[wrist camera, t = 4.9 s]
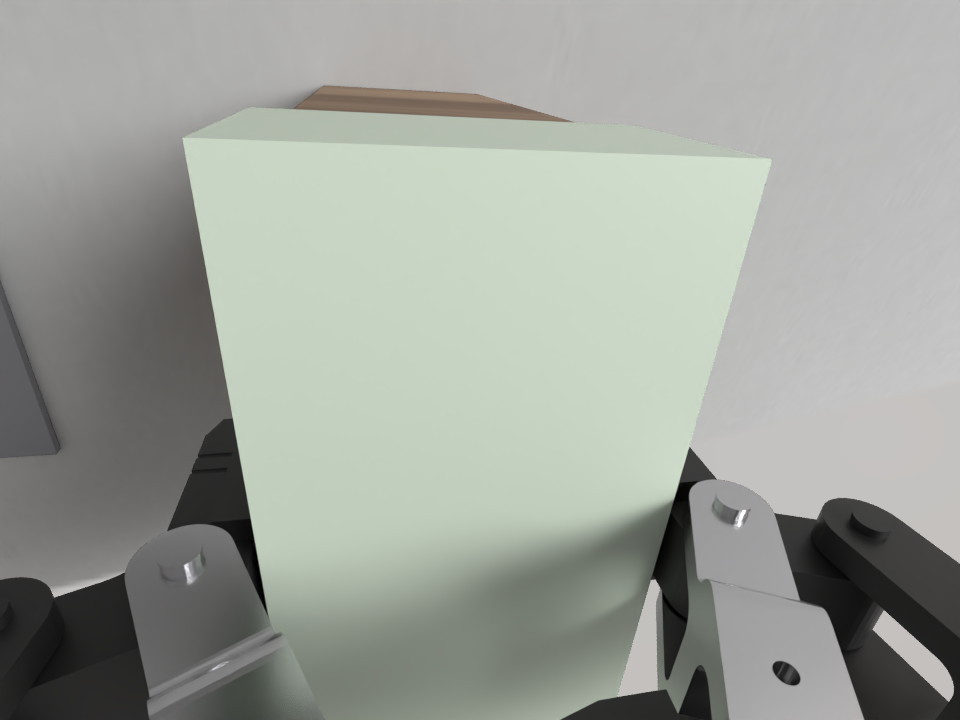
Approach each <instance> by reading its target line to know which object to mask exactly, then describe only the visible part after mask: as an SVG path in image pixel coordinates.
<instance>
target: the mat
mask: <svg viewBox="0 0 960 720" xmlns="http://www.w3.org/2000/svg"><path fill="white" fill-rule="evenodd" d="M59 451H60V446H59V444H58V441H57V438H56V435H55V433H54V430H53V427H52V424H51V421H50V419H49V416H48V413H47V410H46V407H45V405H44V402H43V399H42V396H41V394H40V391H39V388H38V385H37V382H36V380H35V377H34V374H33V371H32V369H31V366H30V363H29V360H28V357H27V355H26V352H25V349H24V346H23V343H22V341H21V338H20V335H19V332H18V330H17V327H16V324H15V321H14V318H13V316H12V313H11V310H10V307H9V304H8V302H7V299H6V296H5V293H4V291H3V288H2V285H1V282H0V458H3V457H19V456H35V455H51V454H57V453H58V452H59Z"/></svg>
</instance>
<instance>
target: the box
mask: <svg viewBox="0 0 960 720" xmlns="http://www.w3.org/2000/svg"><path fill="white" fill-rule="evenodd" d="M294 109H300V110H321V111H342V112H364V113H385V114H406V115H428V116H449V117H470V118H492V119H513V120H534V121H555V122H572V121H568V120H565V119H561V118H558V117H554V116H551V115H548V114H544V113H541V112H537V111H534V110H530V109H527V108H523V107H520V106H516V105H513V104H509V103H506V102H502V101H499V100H495V99H492V98H488V97H485V96H481V95H478V94H465V93H448V92H430V91H412V90H395V89H377V88H360V87H342V86H323V87H322V88H320V89H319V90H318V91H316V92H315V93H314V94H312V95H311V96H310V97H308V98H307V99H306V100H304V101H303V102H302V103H300V104H299V105H298V106H296V107H295V108H294Z"/></svg>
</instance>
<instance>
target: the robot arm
mask: <svg viewBox="0 0 960 720" xmlns="http://www.w3.org/2000/svg"><path fill="white" fill-rule="evenodd" d="M654 579H656V581H657V583H658V584H659V586H660V592H659V595H658V598H657V602H656V621H657V667H658V668H657V671H658V691H653V692H646V693H640V694H634V695H628V696H622V697H616V698H609V699H603V700H598V701H596V702H594V703H592V704H590V705H588V706H586V707H584V708H582V709H580V710H578V711H576V712H574V713H572V714H570V715H568V716H566V717H564V718H562V719H560V720H960V564H959V563H958V562H957V561H955V560H954V559H952V558H951V557H950V556H948V555H947V554H946V553H944V552H943V551H942V550H940V549H939V548H937V547H936V546H935V545H933V544H932V543H931V542H929V541H928V540H927V539H925V538H924V537H923V536H921V535H920V534H918V533H917V532H916V531H914V530H913V529H912V528H910V527H909V526H908V525H906V524H905V523H904V522H902V521H901V520H899V519H898V518H896V517H895V516H894V515H892V514H890V513H889V512H887V511H885V510H883V509H881V508H879V507H877V506H874V505H872V504H869V503H867V502H863V501H860V500H855V499H848V498H837V499H832V500H829V501H828V502H826V503H825V504H824V506H823V507H822V510H821V512H820V514H819V516H818V518H817V520H814V519H808V518H802V517H795V516H789V515H782V514H776V513H774V512H773V510H772V508H771V507H770V505H768V503H767V502H766V501H765V500H764V499H763V498H762V497H761V496H759V495H758V494H756V493H755V492H753V491H752V490H750V489H748V488H746V487H744V486H741V485H739V484H736V483H733V482H729V481H725V480H717V479H716V478H715V476H714V475H713V474H712V473H711V472H710V471H709V469H708V468H707V467H706V466H705V465H704V464H703V462H702V461H701V460H700V459H699V458H698V456H696V454H695V453H694V452H693V451H692V449H691V448H690V447H689V449H688V453H687V456H686V460H685V463H684V467H683V470H682V474H681V477H680V481H679V484H678V487H677V491H676V494H675V498H674V501H673V505H672V508H671V512H670V515H669V519H668V522H667V526H666V529H665V532H664V536H663V539H662V543H661V546H660V550H659V553H658V557H657V560H656V564H655V567H654V571H653V574H652V577H651V580H654ZM884 610H885V611H886V612H887V613H888V614H889V615H890V616H891V617H892V618H894V619H895V620H896V621H897V622H898V623H899V624H900V625H901V626H903V627H904V628H905V629H906V630H907V631H908V632H909V633H910V634H912V636H914V637H915V638H916V639H917V640H918V641H919V642H920V643H921V644H922V645H924V646H925V647H926V648H927V649H928V650H929V651H930V652H931V653H932V654H934V655H935V656H936V657H937V658H938V659H939V660H940V661H941V662H942V663H943V665H944V666H945V667H946V669H947V670H948V672H949V674H950V676H951V678H952V680H953V684H954V694H953V697H952V698H951V700H950V701H949V702H948V701H947V700H946V699H945V698H944V697H942V695H941V694H940V693H938V692H937V691H936V690H935V689H934V688H933V687H932V686H931V685H930V684H929V683H928V682H927V681H926V680H925V679H924V678H923V677H921V676H920V674H918V673H917V672H916V671H915V670H914V669H913V668H912V667H911V666H910V665H909V664H908V663H907V662H906V661H905V660H904V659H903V658H902V657H900V655H898V654H897V653H896V652H895V651H894V650H893V649H892V648H891V647H890V646H889V645H888V644H887V643H886V642H885V641H884V640H883V639H882V638H881V637H879V636H878V635H877V634H876V633H875V632H874V631H873V630H872V629H873V627H874V626H875V624H876V622H877V621H878V619H879V617H880V615H881V614H882V612H883V611H884ZM0 720H325V719H324V717H323V715H322V713H321V711H320V708H319V706H318V704H317V702H316V700H315V698H314V695H313V693H312V691H311V689H310V687H309V685H308V683H307V680H306V678H305V676H304V674H303V672H302V670H301V668H300V665H299V663H298V661H297V659H296V657H295V655H294V653H293V650H292V648H291V646H290V644H289V642H288V640H287V639H286V637H285V636H284V634H283V633H282V632H279V633H277V634H276V633H275V631H274V629H273V627H272V625H271V623H270V620H269V617H268V611H267V606H266V600H265V594H264V589H263V583H262V578H261V572H260V567H259V561H258V556H257V550H256V544H255V539H254V533H253V528H252V522H251V517H250V511H249V506H248V500H247V494H246V489H245V483H244V478H243V472H242V467H241V461H240V456H239V450H238V444H237V439H236V433H235V428H234V422H233V419H224V420H223V421H222V422H221V423H219V424H218V425H217V426H216V427H215V428H214V429H213V430H212V431H211V432H210V433H209V434H207V435H206V436H205V439H204V441H203V444H202V446H201V449H200V451H199V454H198V458H197V459H196V461H195V464H194V466H193V469H192V474H190V476H189V478H188V481H187V483H186V486H185V488H184V491H183V493H182V496H181V498H180V501H179V503H178V506H177V508H176V510H175V513H174V515H173V518H172V520H171V523H170V525H169V528H168V530H167V532H165V533H162V534H161V535H159V536H157V537H155V538H153V539H152V540H150V541H149V542H148V543H146V544H145V545H144V546H143V547H141V548H140V549H139V550H138V551H137V552H136V554H135V555H134V556H133V557H132V559H131V560H130V562H129V563H128V566H127V568H126V571H125V573H123V574H121V575H119V576H116V577H114V578H112V579H109V580H106V581H104V582H101V583H98V584H95V585H92V586H89V587H85V588H83V589H80V590H77V591H73V592H70V593H67V594H64V595H61V596H58V597H55V598H54V597H53V594H52V592H51V590H50V588H49V587H48V586H47V585H46V584H45V583H43V582H41V581H40V580H37V579H33V578H23V577H20V578H9V579H3V580H0Z"/></svg>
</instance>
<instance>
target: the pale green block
mask: <svg viewBox="0 0 960 720" xmlns="http://www.w3.org/2000/svg"><path fill="white" fill-rule="evenodd" d="M182 139H183V144H184V150H185V155H186V161H187V166H188V172H189V178H190V183H191V189H192V194H193V200H194V205H195V211H196V217H197V222H198V228H199V233H200V239H201V244H202V250H203V255H204V261H205V267H206V272H207V278H208V283H209V289H210V294H211V300H212V305H213V311H214V317H215V322H216V328H217V333H218V339H219V344H220V350H221V355H222V361H223V367H224V372H225V378H226V383H227V389H228V394H229V400H230V406H231V411H232V417H233V422H234V428H235V433H236V439H237V444H238V450H239V456H240V461H241V467H242V472H243V478H244V483H245V489H246V494H247V500H248V506H249V511H250V517H251V522H252V528H253V533H254V539H255V544H256V550H257V556H258V561H259V567H260V572H261V578H262V583H263V589H264V594H265V600H266V606H267V611H268V617H269V620H270V623H271V625H272V627H273V629H274V631H275V633H276V634H277V633H279V632H282V633H283V634H284V636H285V637H286V639H287V640H288V642H289V644H290V646H291V648H292V650H293V653H294V655H295V657H296V659H297V661H298V663H299V665H300V668H301V670H302V672H303V674H304V676H305V678H306V680H307V683H308V685H309V687H310V689H311V691H312V693H313V695H314V698H315V700H316V702H317V704H318V706H319V708H320V711H321V713H322V715H323V717H324V719H325V720H560V719H562V718H564V717H566V716H568V715H570V714H572V713H574V712H576V711H578V710H580V709H582V708H584V707H586V706H588V705H590V704H592V703H594V702H596V701H598V700H603V699H609V698H616V697H617V695H618V692H619V688H620V685H621V681H622V678H623V674H624V671H625V667H626V664H627V661H628V657H629V654H630V650H631V647H632V643H633V640H634V636H635V633H636V629H637V626H638V622H639V618H640V615H641V612H642V609H643V605H644V602H645V598H646V595H647V591H648V587H649V584H650V581H651V577H652V574H653V571H654V567H655V564H656V560H657V557H658V553H659V550H660V546H661V543H662V539H663V536H664V532H665V529H666V526H667V522H668V519H669V515H670V512H671V508H672V505H673V501H674V498H675V494H676V491H677V487H678V484H679V481H680V477H681V474H682V470H683V467H684V463H685V460H686V456H687V453H688V449H689V446H690V442H691V439H692V435H693V432H694V429H695V425H696V422H697V418H698V415H699V411H700V408H701V404H702V401H703V397H704V394H705V390H706V387H707V384H708V380H709V377H710V373H711V370H712V366H713V363H714V359H715V356H716V352H717V349H718V345H719V342H720V339H721V335H722V332H723V328H724V325H725V321H726V318H727V314H728V311H729V307H730V304H731V300H732V297H733V294H734V290H735V287H736V283H737V280H738V276H739V273H740V269H741V266H742V262H743V259H744V255H745V252H746V249H747V245H748V242H749V238H750V235H751V231H752V228H753V224H754V221H755V217H756V214H757V210H758V207H759V204H760V200H761V197H762V193H763V190H764V186H765V183H766V179H767V176H768V172H769V169H770V165H771V162H772V159H770V158H766V157H762V156H758V155H754V154H750V153H746V152H742V151H738V150H734V149H730V148H726V147H722V146H718V145H714V144H710V143H706V142H702V141H698V140H694V139H690V138H686V137H681V136H677V135H673V134H669V133H665V132H661V131H657V130H653V129H649V128H645V127H641V126H637V125H619V124H598V123H577V122H555V121H534V120H513V119H492V118H470V117H449V116H428V115H406V114H385V113H364V112H342V111H321V110H300V109H279V108H257V107H249V108H246V109H244V110H242V111H240V112H237V113H235V114H233V115H231V116H229V117H226V118H224V119H222V120H220V121H218V122H215V123H213V124H211V125H209V126H207V127H204V128H202V129H200V130H198V131H196V132H193V133H191V134H189V135H187V136H185V137H182Z"/></svg>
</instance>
